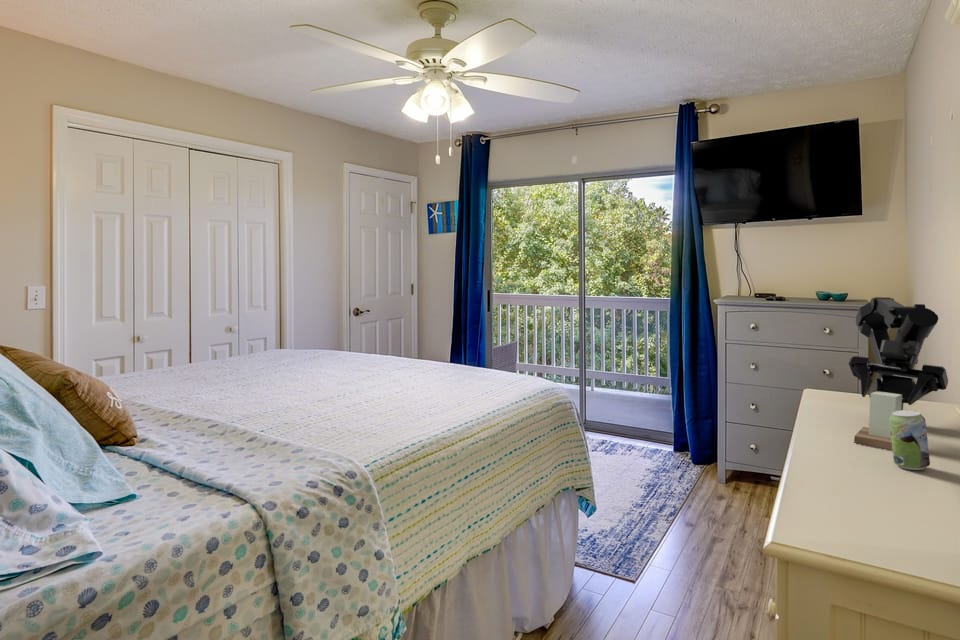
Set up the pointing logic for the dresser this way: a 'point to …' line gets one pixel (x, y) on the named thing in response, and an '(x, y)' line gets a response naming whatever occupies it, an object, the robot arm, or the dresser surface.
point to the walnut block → (872, 440)
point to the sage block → (882, 412)
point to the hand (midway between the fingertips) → (885, 399)
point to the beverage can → (909, 439)
